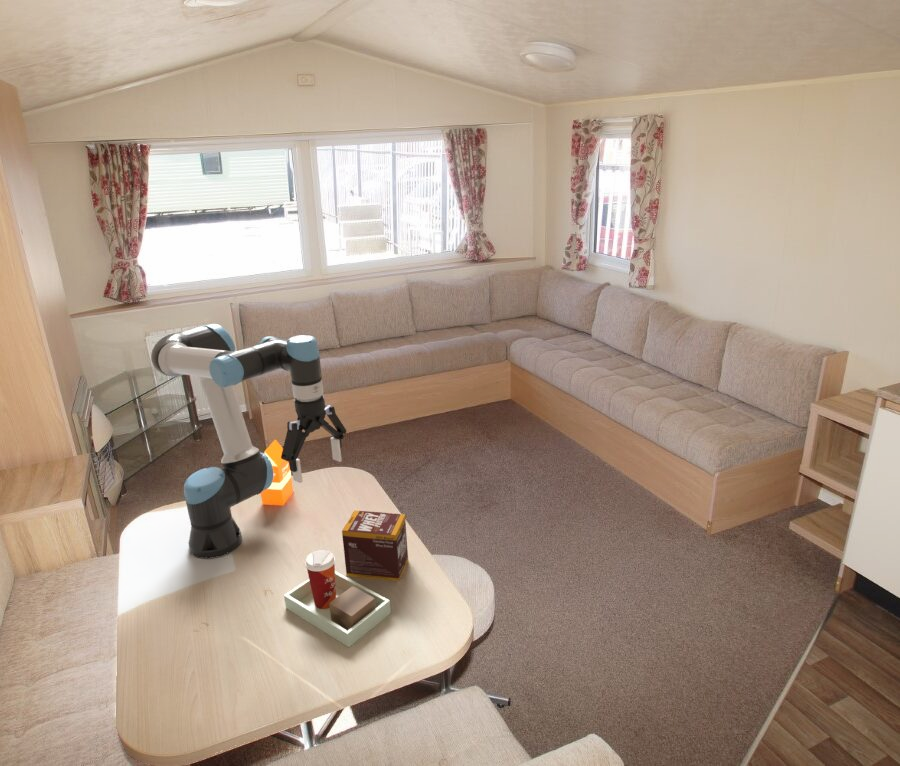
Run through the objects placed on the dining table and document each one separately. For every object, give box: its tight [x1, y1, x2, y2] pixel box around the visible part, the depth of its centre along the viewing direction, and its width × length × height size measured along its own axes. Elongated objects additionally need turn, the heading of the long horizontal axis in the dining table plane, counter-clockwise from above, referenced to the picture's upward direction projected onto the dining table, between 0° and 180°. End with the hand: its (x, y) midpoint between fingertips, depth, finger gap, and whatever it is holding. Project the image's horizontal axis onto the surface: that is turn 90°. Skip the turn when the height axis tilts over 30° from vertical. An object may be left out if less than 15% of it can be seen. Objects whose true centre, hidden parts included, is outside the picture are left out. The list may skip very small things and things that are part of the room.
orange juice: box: [260, 439, 294, 506], centre depth 221 cm, size 8×9×20 cm
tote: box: [283, 570, 392, 648], centre depth 170 cm, size 24×15×5 cm, turn 52°
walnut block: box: [329, 586, 376, 631], centre depth 166 cm, size 8×8×6 cm
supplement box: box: [341, 510, 409, 582], centre depth 184 cm, size 10×15×16 cm
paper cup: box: [304, 549, 336, 609], centre depth 171 cm, size 8×8×14 cm
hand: (318, 470), depth 176 cm, fingers open, 13 cm apart
